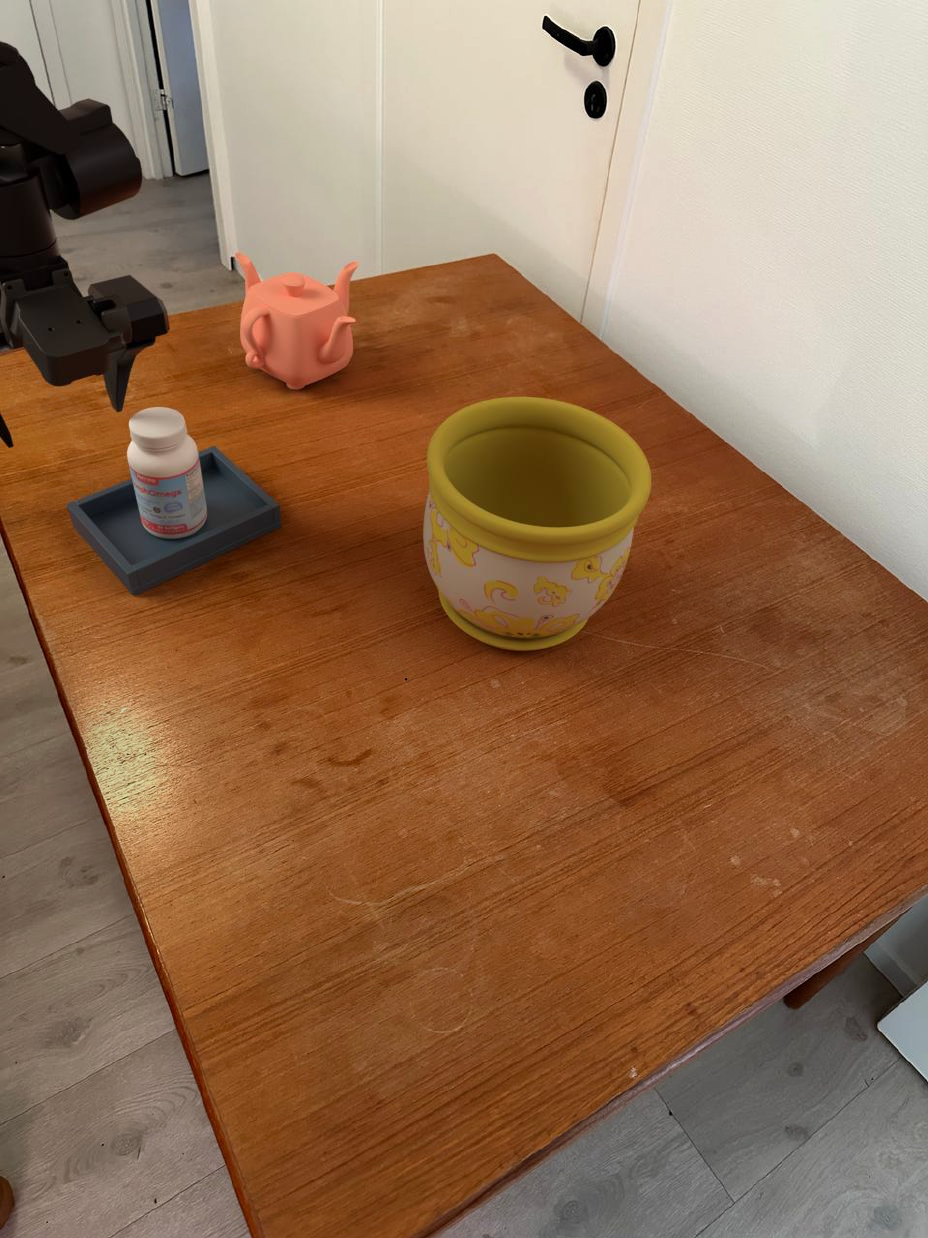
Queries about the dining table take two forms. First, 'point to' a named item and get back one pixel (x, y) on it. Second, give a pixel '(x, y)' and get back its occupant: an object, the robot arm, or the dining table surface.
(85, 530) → the tray
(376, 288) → the dining table surface
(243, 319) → the teapot
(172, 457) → the pill bottle
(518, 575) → the flowerpot
